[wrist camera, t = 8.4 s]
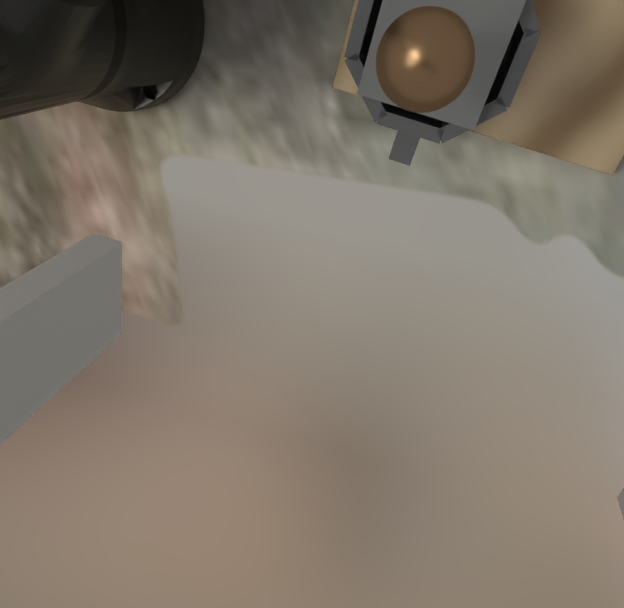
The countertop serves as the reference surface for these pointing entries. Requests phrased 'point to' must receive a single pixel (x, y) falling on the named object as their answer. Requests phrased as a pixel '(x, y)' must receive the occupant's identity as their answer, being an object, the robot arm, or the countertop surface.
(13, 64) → the robot arm
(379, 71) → the plunger
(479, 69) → the gray octagonal holder
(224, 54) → the countertop surface
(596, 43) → the board
